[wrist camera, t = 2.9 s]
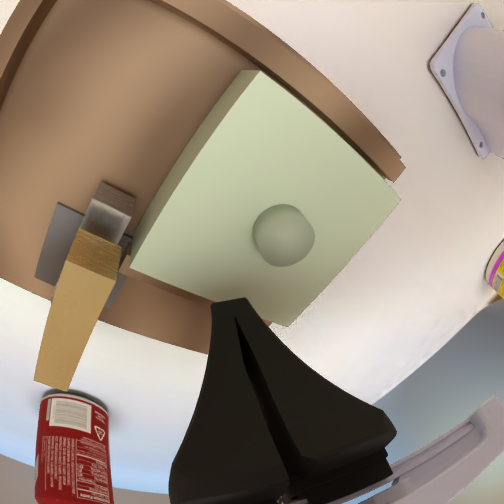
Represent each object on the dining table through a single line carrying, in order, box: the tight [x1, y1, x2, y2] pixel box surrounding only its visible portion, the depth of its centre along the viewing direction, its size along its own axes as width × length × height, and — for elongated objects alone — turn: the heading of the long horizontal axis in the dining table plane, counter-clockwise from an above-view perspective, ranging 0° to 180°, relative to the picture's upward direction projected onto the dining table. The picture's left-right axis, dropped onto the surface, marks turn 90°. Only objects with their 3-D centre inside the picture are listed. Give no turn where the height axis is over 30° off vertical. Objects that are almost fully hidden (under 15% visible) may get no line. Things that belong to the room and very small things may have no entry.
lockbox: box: [0, 0, 406, 354], centre depth 12 cm, size 18×16×3 cm
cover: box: [129, 70, 401, 327], centre depth 12 cm, size 8×8×4 cm
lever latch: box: [34, 182, 135, 392], centre depth 11 cm, size 2×8×4 cm, turn 143°
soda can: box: [35, 393, 114, 504], centre depth 18 cm, size 7×7×12 cm
